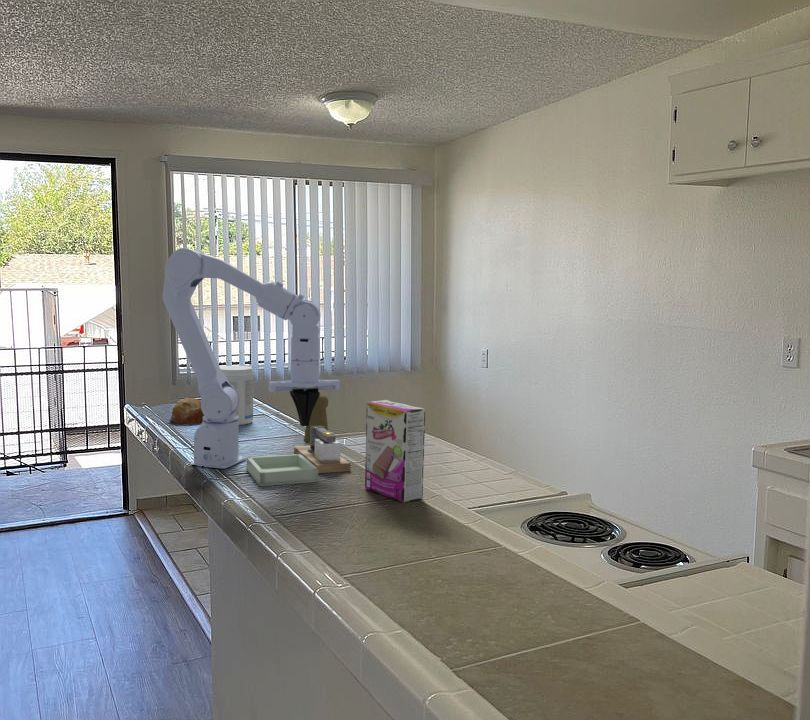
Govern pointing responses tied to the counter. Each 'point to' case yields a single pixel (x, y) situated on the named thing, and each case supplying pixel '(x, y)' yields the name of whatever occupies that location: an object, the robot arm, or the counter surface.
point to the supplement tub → (242, 390)
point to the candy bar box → (395, 450)
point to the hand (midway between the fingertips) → (304, 425)
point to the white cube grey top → (327, 451)
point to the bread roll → (187, 411)
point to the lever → (320, 435)
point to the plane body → (326, 466)
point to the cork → (317, 416)
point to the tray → (281, 469)
